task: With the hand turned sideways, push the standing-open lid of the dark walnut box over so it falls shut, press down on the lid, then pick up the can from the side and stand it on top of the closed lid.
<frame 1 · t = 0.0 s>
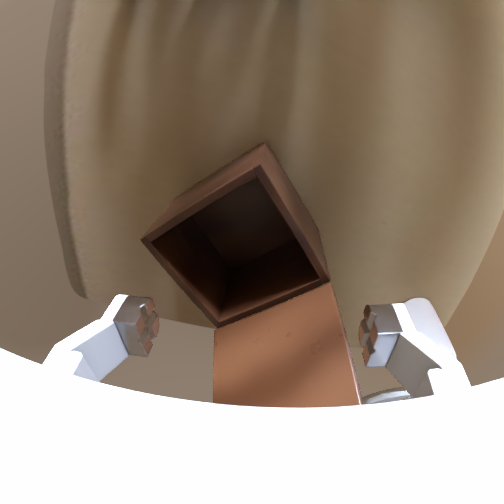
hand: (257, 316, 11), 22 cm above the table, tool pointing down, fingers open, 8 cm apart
box: (246, 213, 32), on the table
lid: (276, 373, 21), point 16 cm above the table, hinge at 104.0°
can: (411, 311, 38), on the table
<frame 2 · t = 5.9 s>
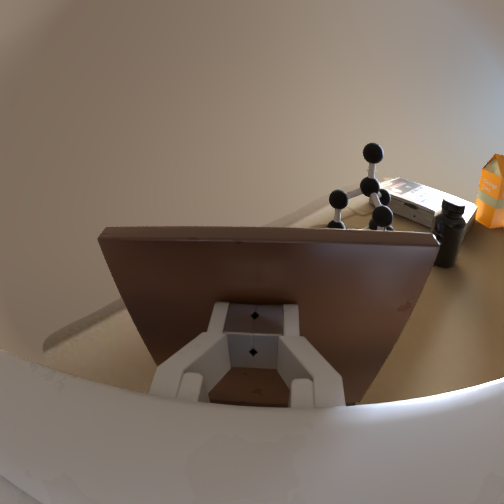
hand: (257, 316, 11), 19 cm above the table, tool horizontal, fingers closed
box: (268, 401, 27), on the table
supplement bottle: (439, 260, 48), on the table
lid: (266, 345, 13), point 16 cm above the table, hinge at 97.2°, touching gripper
hard drive: (424, 212, 67), on the table
molecular model: (346, 256, 50), on the table
orange juice: (487, 222, 63), on the table
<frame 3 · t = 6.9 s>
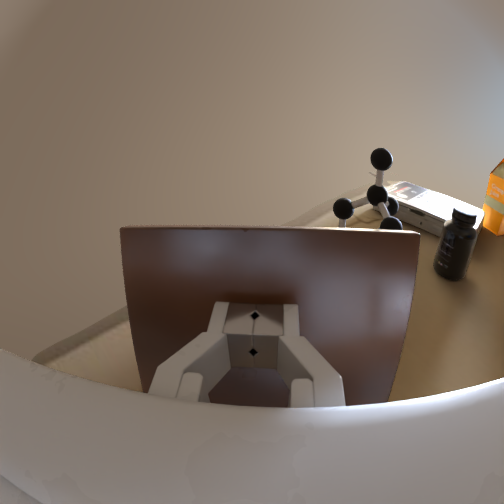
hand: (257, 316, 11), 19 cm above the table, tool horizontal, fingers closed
supplement bottle: (447, 271, 44), on the table
lid: (265, 369, 12), point 16 cm above the table, hinge at 70.7°
hard drive: (430, 218, 64), on the table
molecular model: (350, 268, 47), on the table
orange juice: (495, 228, 60), on the table
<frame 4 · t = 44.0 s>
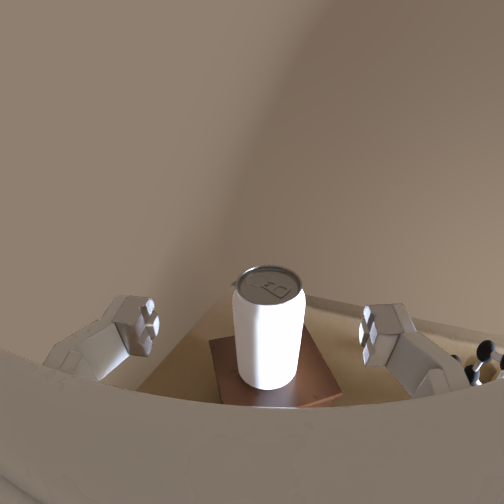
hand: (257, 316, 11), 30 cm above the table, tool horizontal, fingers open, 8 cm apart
lid: (271, 368, 31), point 10 cm above the table, hinge at -0.3°, touching box, can
molecular model: (461, 404, 32), on the table
can: (267, 369, 31), point 10 cm above the table, touching lid
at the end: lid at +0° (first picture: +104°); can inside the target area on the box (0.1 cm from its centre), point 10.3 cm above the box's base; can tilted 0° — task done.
